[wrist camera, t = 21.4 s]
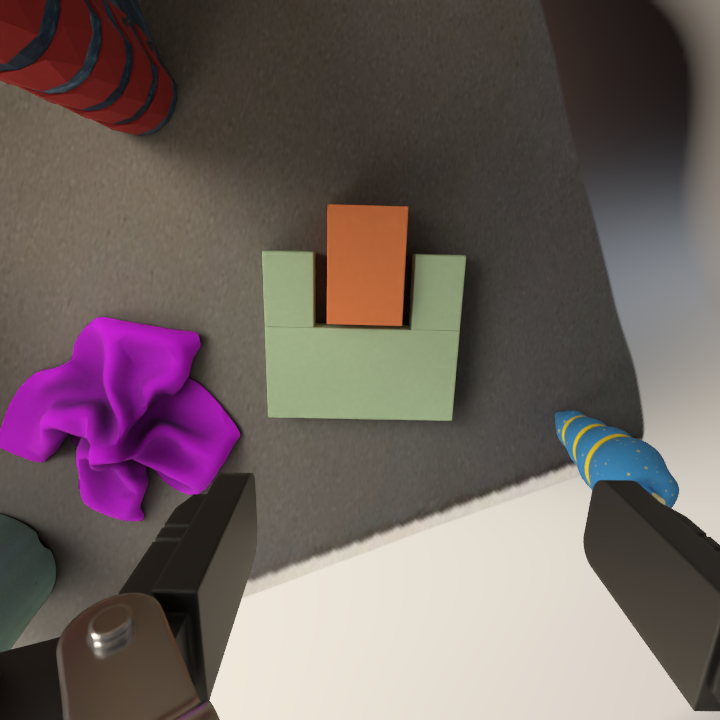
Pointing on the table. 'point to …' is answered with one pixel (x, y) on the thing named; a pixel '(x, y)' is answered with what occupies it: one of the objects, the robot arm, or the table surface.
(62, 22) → the book
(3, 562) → the flower pot
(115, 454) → the cloth
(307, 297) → the pale green notched block
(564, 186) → the table surface
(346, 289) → the orange rectangular block
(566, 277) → the table surface
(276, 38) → the table surface
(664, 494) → the ornament
